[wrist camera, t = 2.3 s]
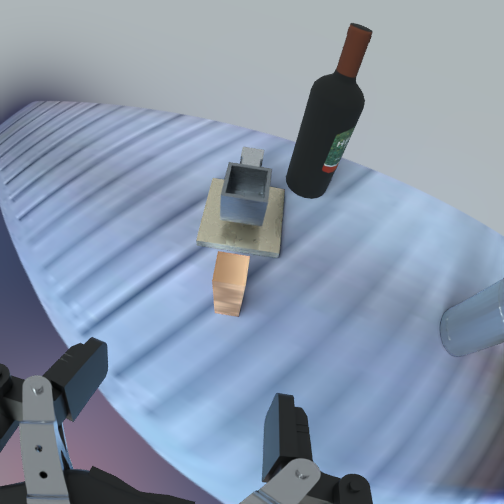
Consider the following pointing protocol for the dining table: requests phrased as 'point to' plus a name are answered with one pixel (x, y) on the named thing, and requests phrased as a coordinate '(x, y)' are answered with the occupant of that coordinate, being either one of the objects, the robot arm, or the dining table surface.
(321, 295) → the dining table surface
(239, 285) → the tan wooden block
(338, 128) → the wine bottle
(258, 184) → the cup bracket
